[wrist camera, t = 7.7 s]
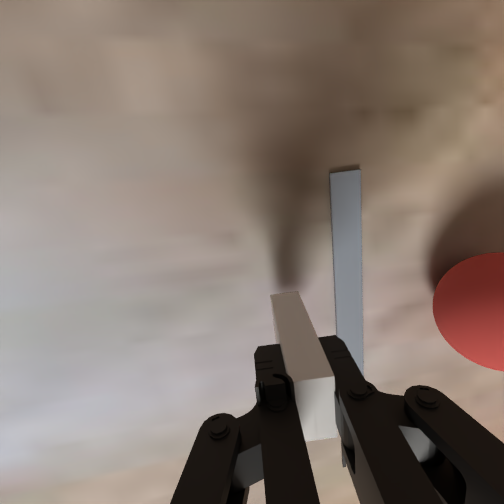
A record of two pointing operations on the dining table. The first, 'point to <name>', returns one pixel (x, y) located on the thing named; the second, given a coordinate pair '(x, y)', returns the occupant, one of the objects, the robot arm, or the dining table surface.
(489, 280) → the ball
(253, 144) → the dining table surface
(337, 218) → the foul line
